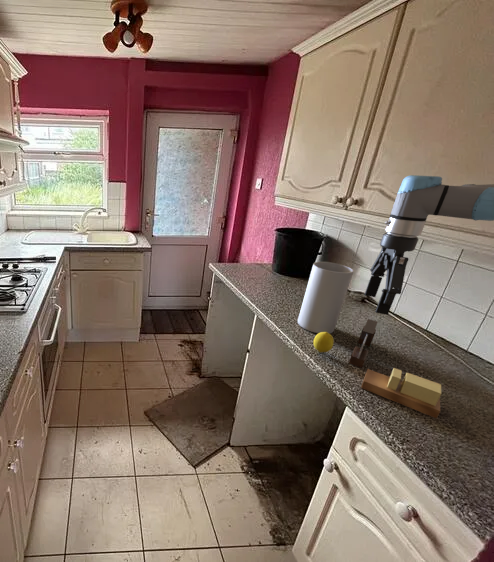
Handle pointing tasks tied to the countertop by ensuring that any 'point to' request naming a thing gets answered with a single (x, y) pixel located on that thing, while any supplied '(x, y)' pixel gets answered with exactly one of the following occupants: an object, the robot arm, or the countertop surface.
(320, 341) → the lemon
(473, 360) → the countertop surface
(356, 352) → the knife stand
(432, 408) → the board
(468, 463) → the countertop surface
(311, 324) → the cylinder vase
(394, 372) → the butter slice
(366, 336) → the knife
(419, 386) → the butter
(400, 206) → the robot arm
